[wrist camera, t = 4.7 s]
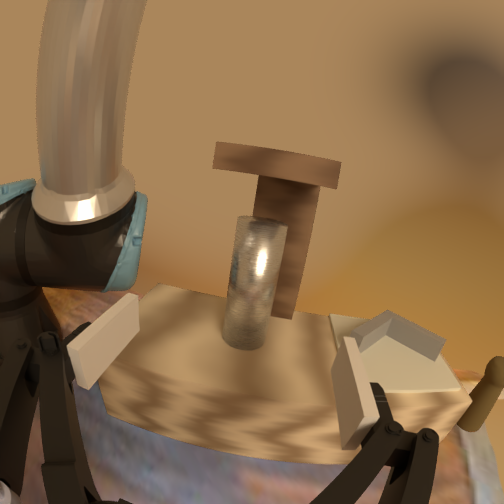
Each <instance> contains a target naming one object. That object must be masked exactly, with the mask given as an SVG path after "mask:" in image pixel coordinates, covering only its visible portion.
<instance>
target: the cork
mask: <svg viewBox="0 0 504 504" xmlns="http://www.w3.org/2000/svg"><path fill="white" fill-rule="evenodd" d="M503 388H504V357H501V356H496V357H494V358H493V359H491V360H490V361H489V363H488V364H487V366H486V369H485V375H484V377H483V378H482V379H481V381H480V382H479V383H478V384H477V386H476V387H475V388H474V389H473V390H472V392H471V393H470V394H469V396H470V398H471V399H472V403H471V404H470V406H469V407H468V408H467V410H466V411H465V413H464V414H463V415H462V416H461V418H460V419H459V420H458V422H457V425H458V426H459V427H460V428H462V429H463V430H465V431H468V432H475V431H477V430H479V428H480V427H481V426H482V424H483V422H484V421H485V419H486V418H487V416H488V414H489V413H490V411H491V409H492V408H493V406H494V404H495V402H496V400H497V399H498V397H499V395H500V393H501V391H502V389H503Z"/></svg>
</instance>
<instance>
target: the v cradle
mask: <svg viewBox="0 0 504 504" xmlns="http://www.w3.org/2000/svg"><path fill="white" fill-rule="evenodd" d="M329 319H330V323H331V327H332V331H333V335H334V339H335V343H336V347H337V352H338V349H339V347H340V344H341V341H342V338H343V336H344V337H352V338H355V340H356V343H357V346H358V349H359V352H360V355H361V358H362V361H363V364H364V367H365V370H366V373H367V376H368V379H369V382H376V383H379V384H380V386H381V387H382V388H383V389H384V392H385V393H424V392H445V391H458V390H460V389H461V386H460V385H459V383H458V381H457V380H456V378H455V377H454V375H453V374H452V372H451V371H450V369H449V367H448V366H447V364H446V363H445V361H444V360H443V359H442V357H441V356H440V352H441V350H442V348H443V346H444V344H445V341H446V339H444V338H442V337H440V336H438V335H436V334H435V333H433V332H431V331H429V330H427V329H425V328H423V327H421V326H419V325H417V324H415V323H413V322H411V321H409V320H407V319H405V318H403V317H401V316H399V315H397V314H395V313H393V312H391V311H389V310H386V311H384V312H383V313H381V314H380V315H378V316H376V317H374V318H373V319H371V320H370V319H364V318H356V317H349V316H343V315H335V314H329Z"/></svg>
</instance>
